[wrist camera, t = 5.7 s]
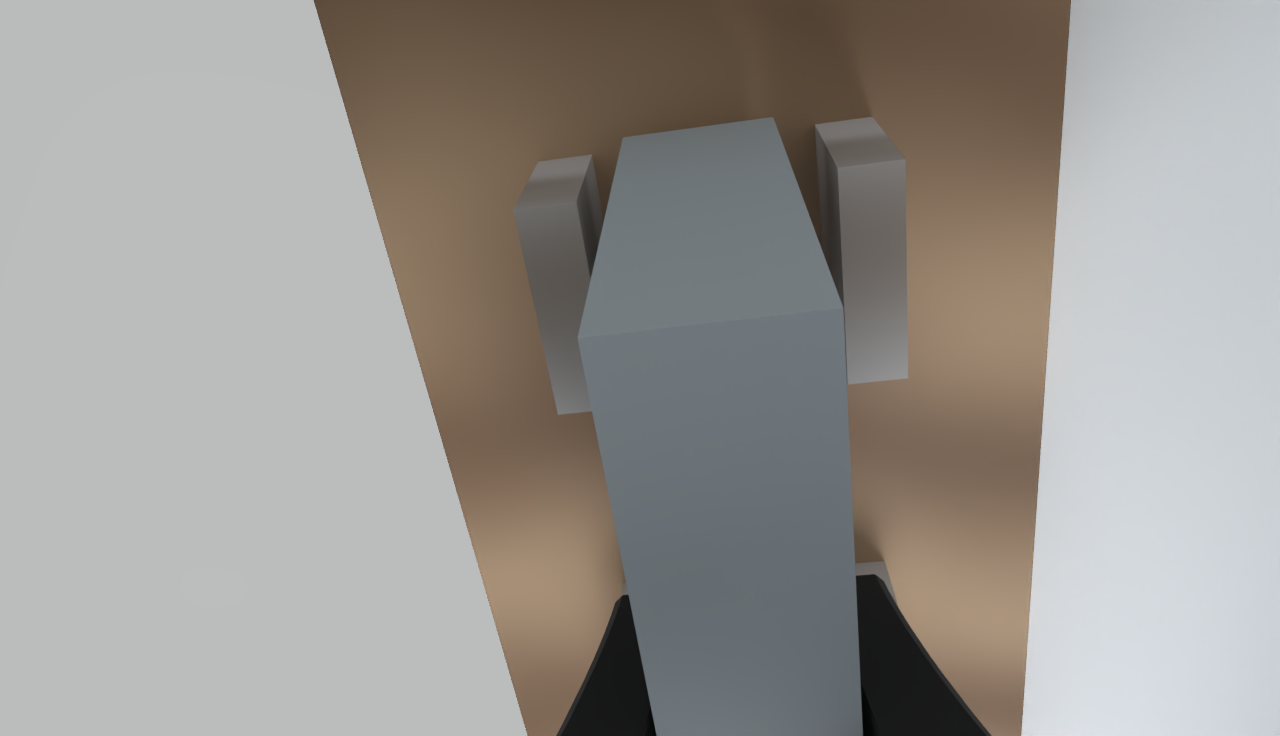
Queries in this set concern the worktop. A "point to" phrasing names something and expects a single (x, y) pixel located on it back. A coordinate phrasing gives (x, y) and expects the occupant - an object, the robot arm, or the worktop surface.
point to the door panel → (726, 435)
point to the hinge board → (848, 235)
